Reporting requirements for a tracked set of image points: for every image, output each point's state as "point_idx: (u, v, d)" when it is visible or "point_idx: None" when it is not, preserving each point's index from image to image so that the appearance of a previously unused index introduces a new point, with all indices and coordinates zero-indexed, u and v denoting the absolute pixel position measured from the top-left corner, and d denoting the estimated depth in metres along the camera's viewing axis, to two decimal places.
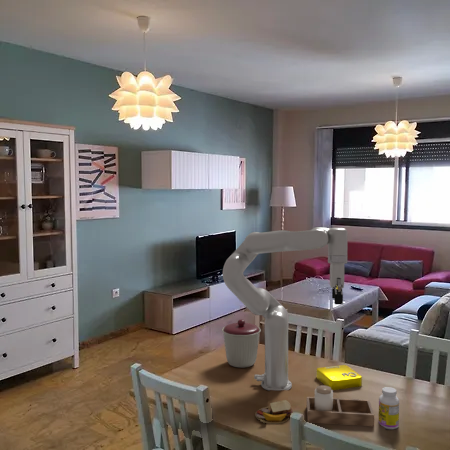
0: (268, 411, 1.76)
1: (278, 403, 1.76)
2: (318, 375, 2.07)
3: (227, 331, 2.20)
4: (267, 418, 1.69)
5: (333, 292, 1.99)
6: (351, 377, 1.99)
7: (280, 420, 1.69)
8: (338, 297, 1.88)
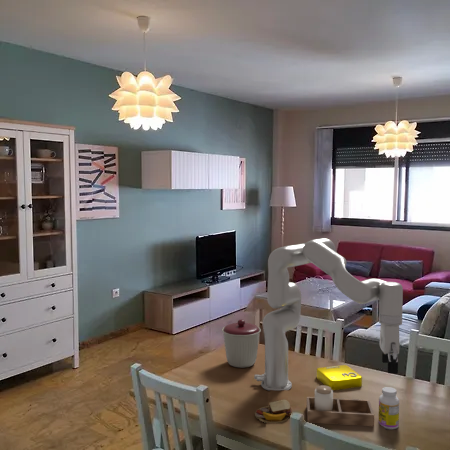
0: (267, 410, 1.77)
1: (277, 403, 1.77)
2: (318, 375, 2.07)
3: (227, 331, 2.20)
4: (267, 417, 1.69)
5: (383, 355, 1.70)
6: (351, 377, 1.99)
7: (280, 419, 1.69)
8: (392, 365, 1.60)
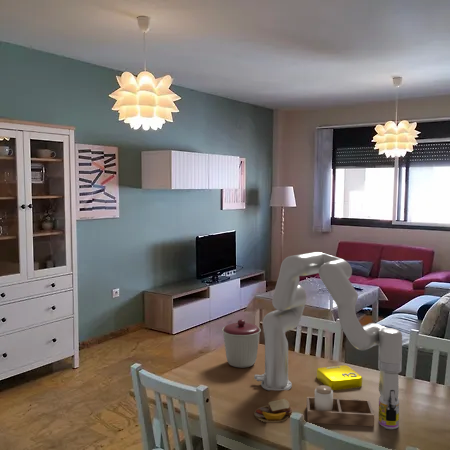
0: (267, 410, 1.77)
1: (277, 402, 1.77)
2: (318, 375, 2.07)
3: (227, 331, 2.20)
4: (267, 417, 1.70)
5: None
6: (351, 377, 1.99)
7: (280, 419, 1.70)
8: (391, 413, 1.62)
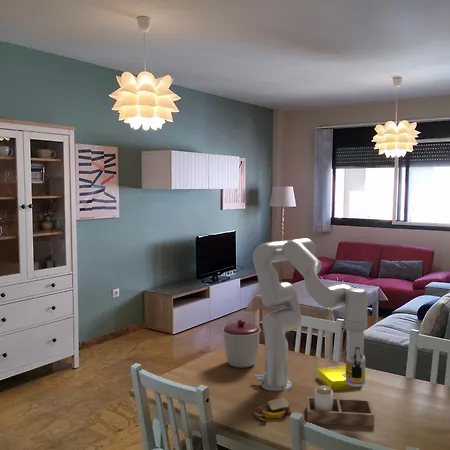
0: (266, 409, 1.78)
1: (276, 401, 1.78)
2: (318, 375, 2.07)
3: (227, 331, 2.20)
4: (266, 416, 1.70)
5: None
6: None
7: (279, 417, 1.71)
8: (356, 370, 1.66)
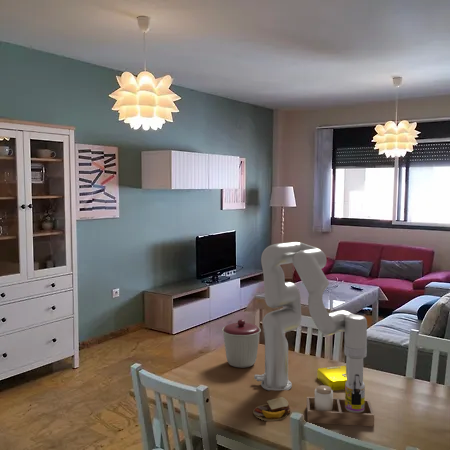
0: (265, 409, 1.78)
1: (275, 400, 1.78)
2: (318, 375, 2.07)
3: (227, 331, 2.20)
4: (266, 415, 1.71)
5: None
6: None
7: (279, 417, 1.71)
8: (356, 397, 1.66)
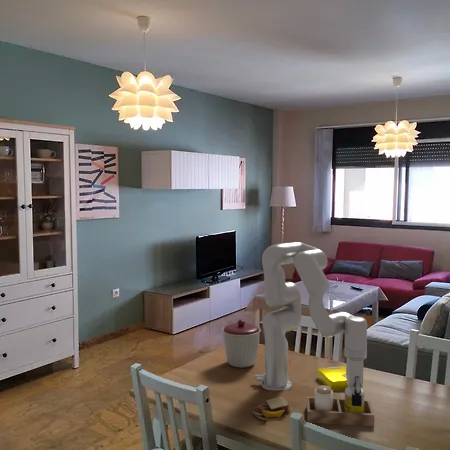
0: (265, 408, 1.79)
1: (274, 400, 1.79)
2: (318, 376, 2.07)
3: (227, 331, 2.20)
4: (266, 415, 1.71)
5: None
6: None
7: (279, 416, 1.72)
8: (356, 398, 1.65)
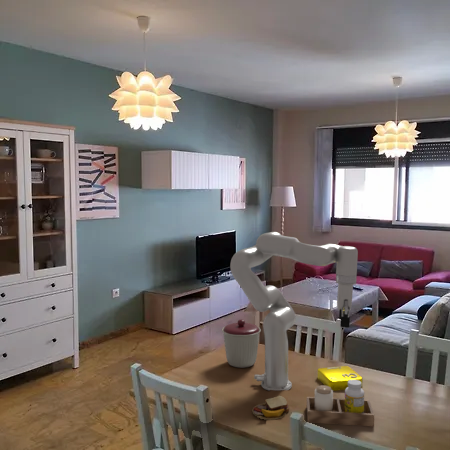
0: (264, 407, 1.79)
1: (273, 399, 1.79)
2: (319, 376, 2.06)
3: (227, 331, 2.20)
4: (266, 414, 1.72)
5: (340, 313, 1.89)
6: (351, 378, 1.98)
7: (278, 415, 1.72)
8: (344, 320, 1.79)
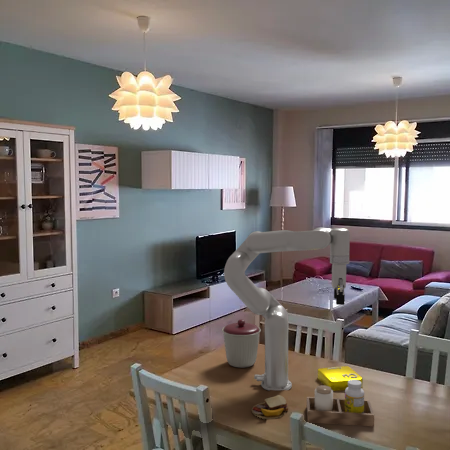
0: (263, 407, 1.79)
1: (273, 398, 1.80)
2: (319, 376, 2.06)
3: (227, 331, 2.20)
4: (265, 414, 1.72)
5: (335, 292, 1.99)
6: (351, 378, 1.98)
7: (278, 415, 1.73)
8: (340, 297, 1.89)
